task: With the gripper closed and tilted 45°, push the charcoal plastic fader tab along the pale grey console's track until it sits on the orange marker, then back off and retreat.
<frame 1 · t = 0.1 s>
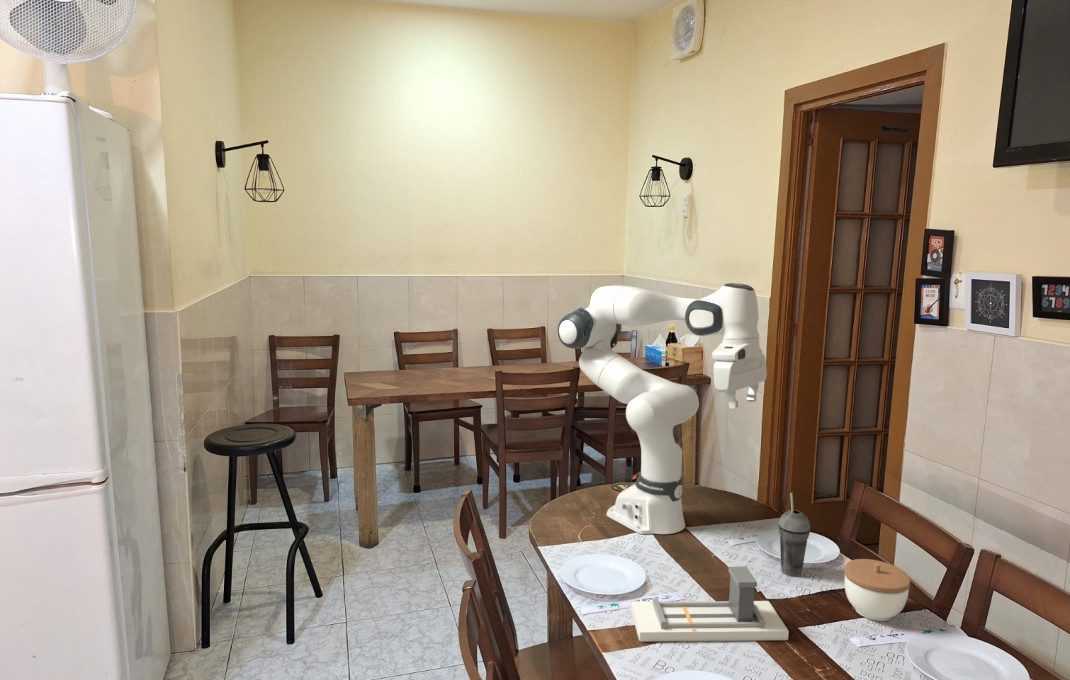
hand: (742, 404, 165), 39 cm above the table, tool pointing down, fingers open, 8 cm apart
fader console: (706, 624, 139), on the table
fader tab: (741, 594, 138), point 7 cm above the table, slide at 0.0 cm
lidded bowl: (873, 612, 144), on the table
beverage cup: (791, 572, 161), on the table
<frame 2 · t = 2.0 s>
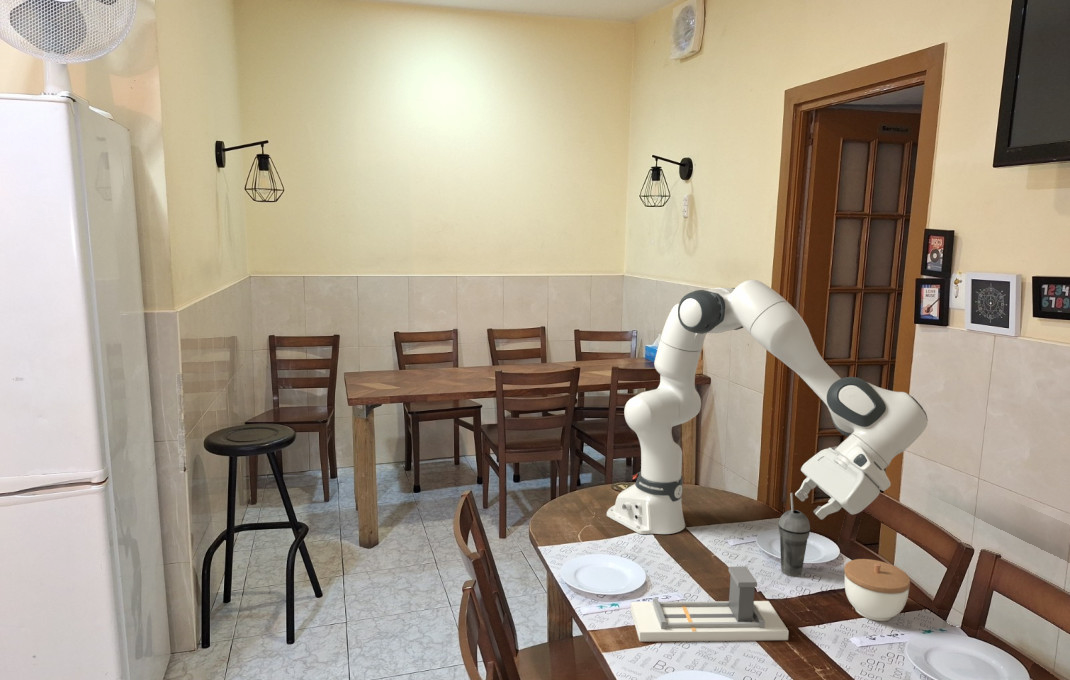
hand: (807, 506, 135), 26 cm above the table, tool tilted 45°, fingers open, 8 cm apart
nothing on the table moved.
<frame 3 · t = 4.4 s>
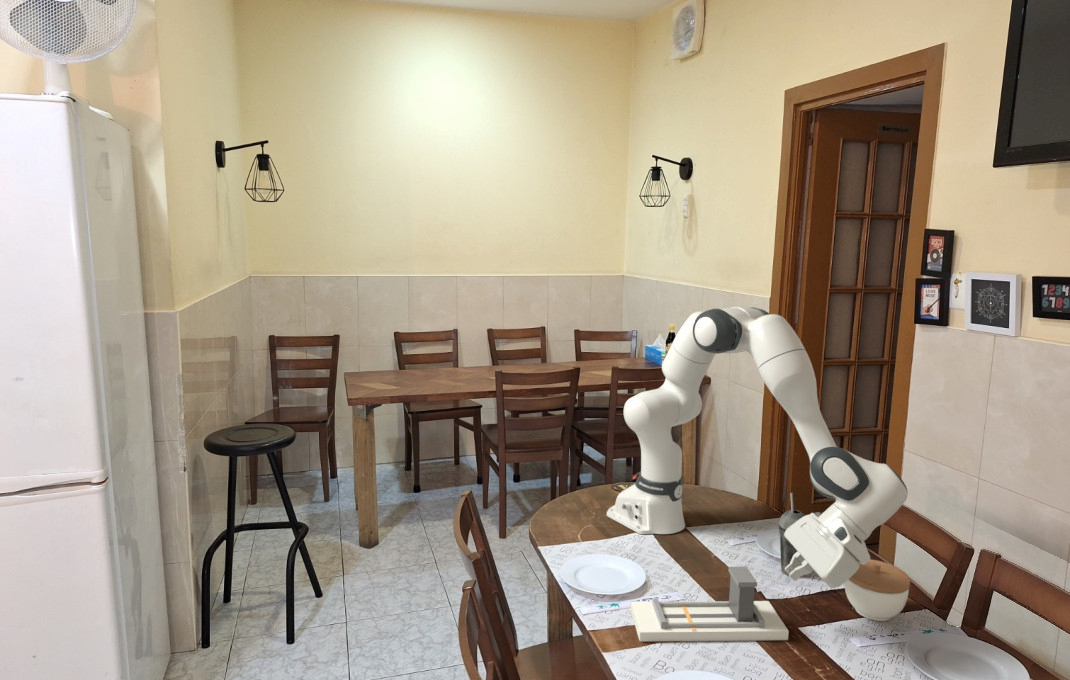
hand: (789, 575, 138), 11 cm above the table, tool tilted 45°, fingers closed
nothing on the table moved.
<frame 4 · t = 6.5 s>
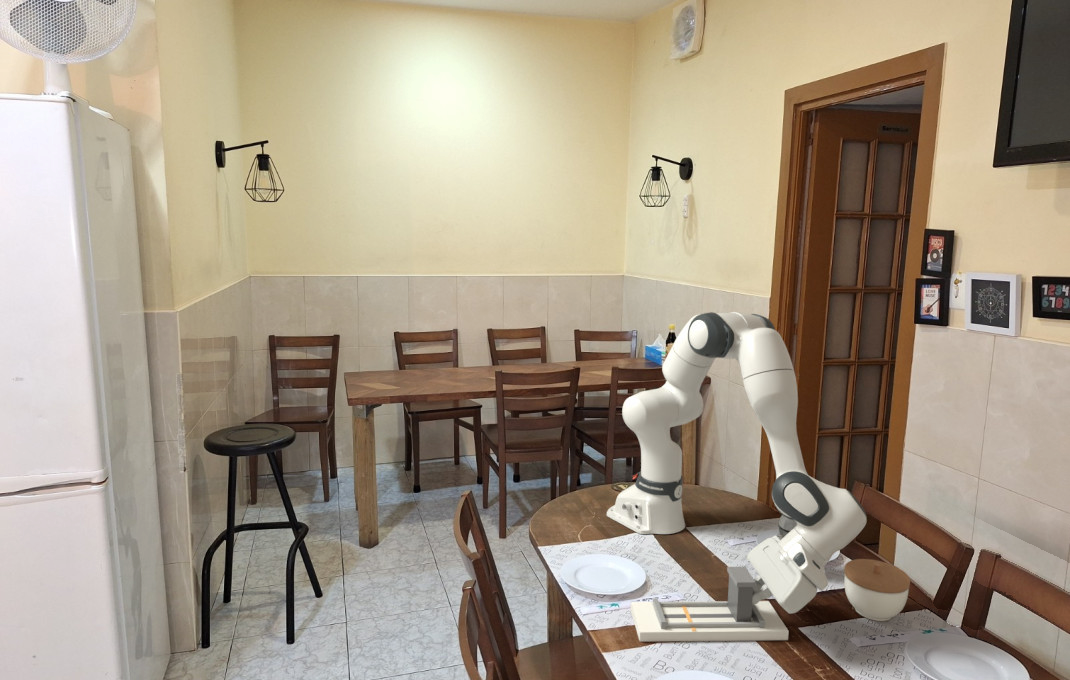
hand: (749, 598, 139), 6 cm above the table, tool tilted 45°, fingers closed, pressing on fader tab
fader tab: (740, 594, 138), point 7 cm above the table, slide at 0.3 cm, touching gripper
everything else where it was.
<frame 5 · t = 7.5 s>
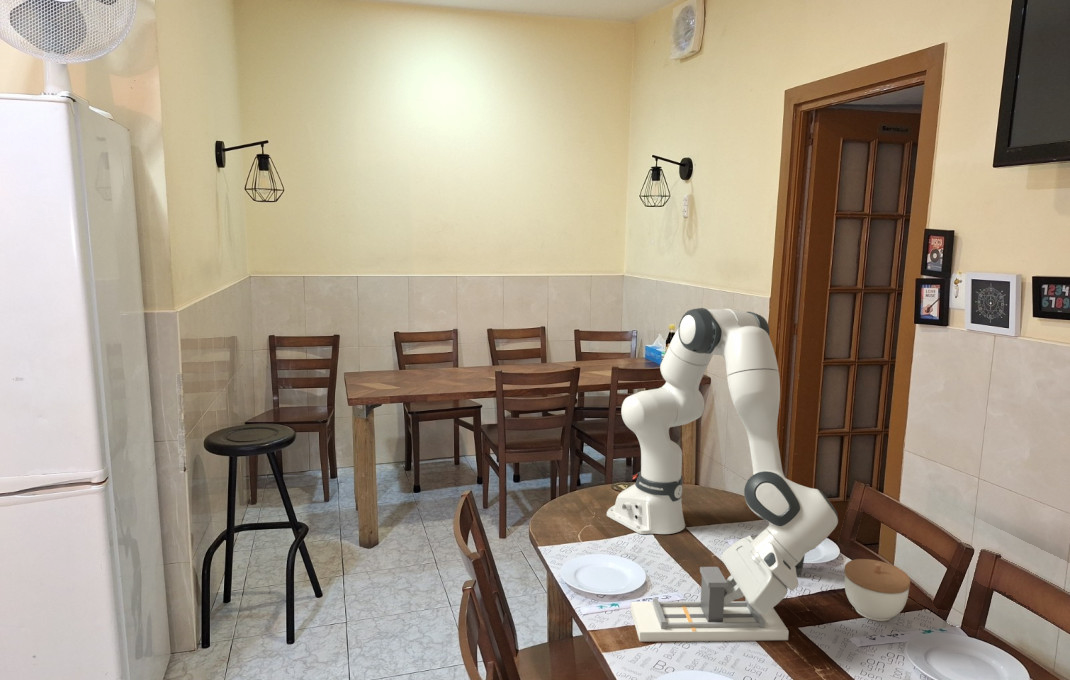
hand: (722, 598, 138), 6 cm above the table, tool tilted 45°, fingers closed, pressing on fader tab
fader tab: (712, 594, 138), point 7 cm above the table, slide at 6.1 cm, touching gripper
everything else where it was.
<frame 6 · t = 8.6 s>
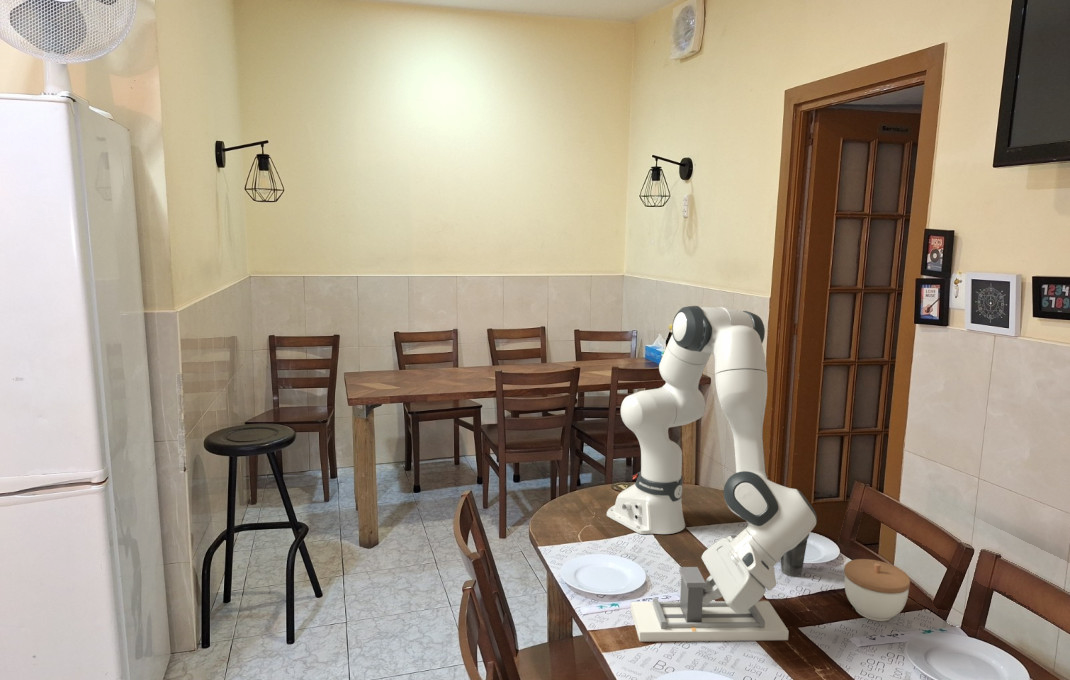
hand: (701, 599, 138), 6 cm above the table, tool tilted 45°, fingers closed, pressing on fader tab
fader tab: (691, 594, 138), point 7 cm above the table, slide at 10.5 cm, touching gripper
everything else where it was.
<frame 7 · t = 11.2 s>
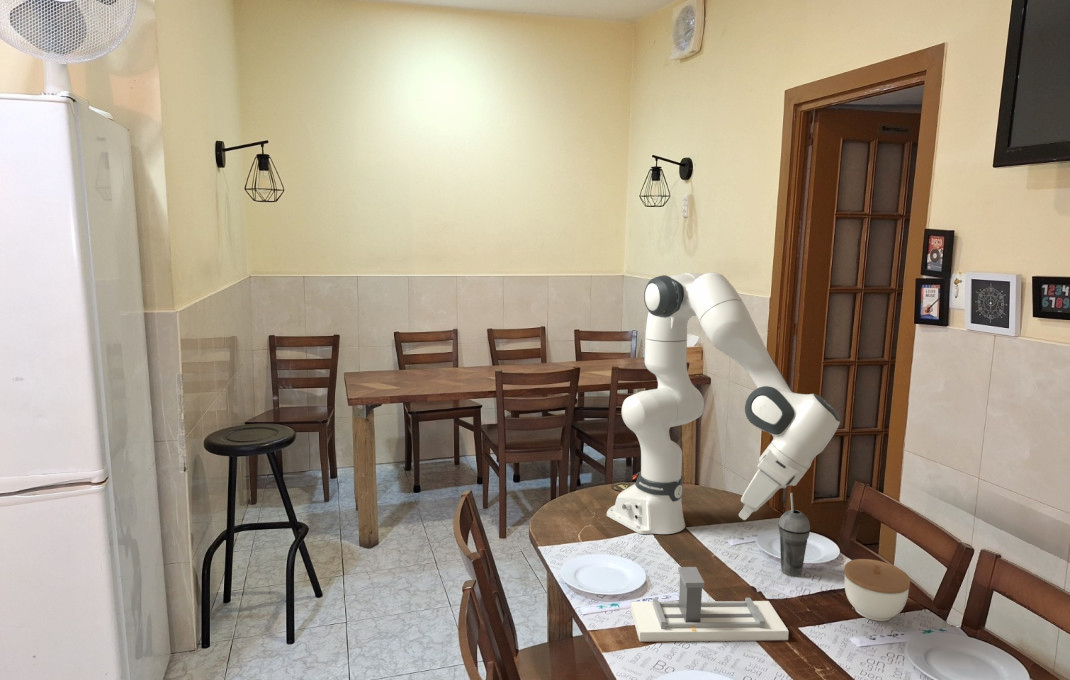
hand: (742, 517, 142), 21 cm above the table, tool tilted 30°, fingers closed
fader tab: (690, 594, 138), point 7 cm above the table, slide at 10.7 cm
everything else where it was.
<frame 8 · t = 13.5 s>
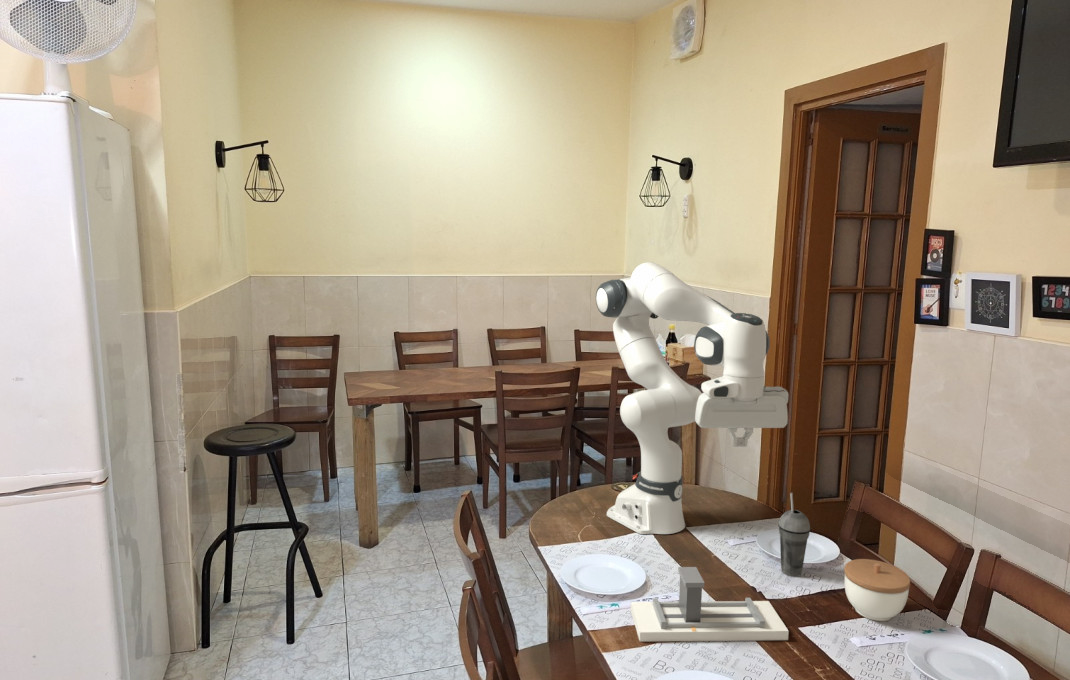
hand: (739, 445, 151), 33 cm above the table, tool pointing down, fingers closed
nothing on the table moved.
at the end: fader tab slide at 10.7 cm; beverage cup moved 0.2 cm from its start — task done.
